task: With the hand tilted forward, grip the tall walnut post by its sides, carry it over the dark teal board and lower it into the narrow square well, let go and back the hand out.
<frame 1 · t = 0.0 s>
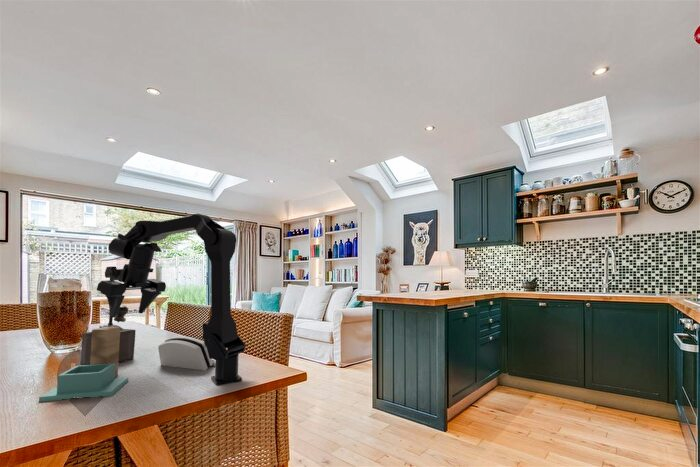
hand: (127, 315, 105), 15 cm above the table, tool pointing down, fingers open, 9 cm apart
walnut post: (103, 377, 95), on the table
grey curved block: (184, 367, 106), on the table
well: (87, 390, 85), on the table
dark brown wooden block: (113, 362, 111), on the table
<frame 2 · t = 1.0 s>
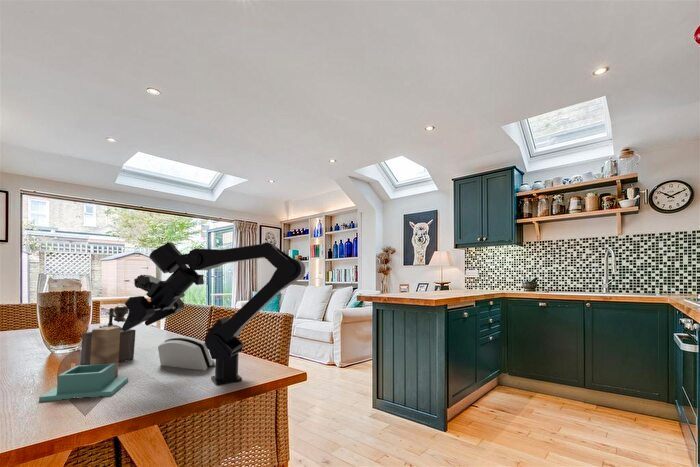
hand: (135, 327, 96), 13 cm above the table, tool tilted 45°, fingers open, 9 cm apart
nothing on the table moved.
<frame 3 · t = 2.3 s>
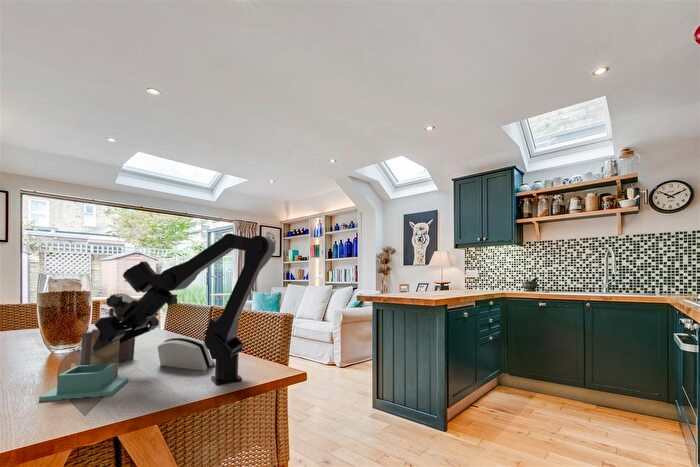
hand: (107, 345, 96), 8 cm above the table, tool tilted 45°, fingers open, 9 cm apart
nothing on the table moved.
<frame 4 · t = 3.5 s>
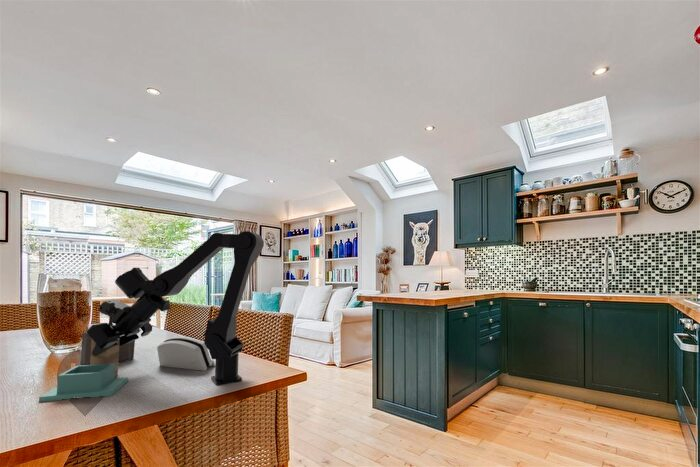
hand: (100, 352, 96), 7 cm above the table, tool tilted 45°, fingers closed on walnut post, 4 cm apart
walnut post: (103, 377, 95), on the table, touching gripper
everything else where it was.
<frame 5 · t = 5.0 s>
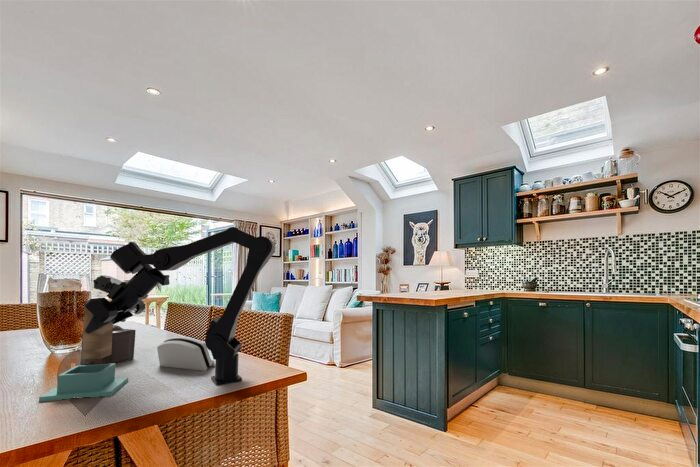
hand: (92, 330, 92), 13 cm above the table, tool tilted 45°, fingers closed on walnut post, 4 cm apart
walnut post: (97, 356, 91), point 7 cm above the table, touching gripper
everything else where it was.
when the fingers open (9 cm above the table, at t = 6.8 s): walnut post drops 1 cm, resting on well.
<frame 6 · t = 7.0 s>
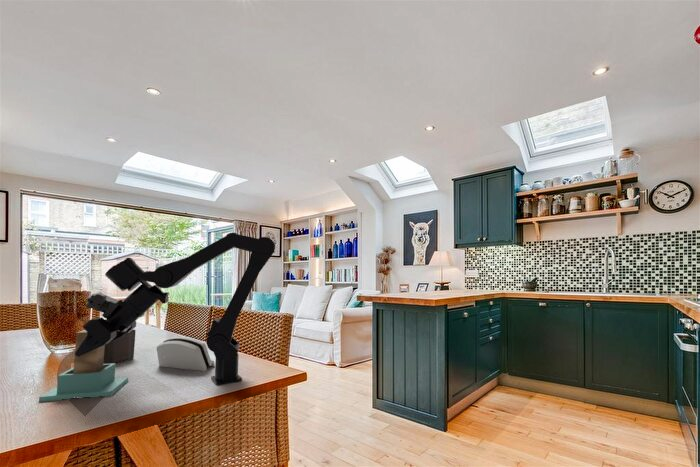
hand: (83, 352, 86), 9 cm above the table, tool tilted 45°, fingers open, 6 cm apart
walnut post: (87, 386, 86), point 1 cm above the table, touching well
everything else where it was.
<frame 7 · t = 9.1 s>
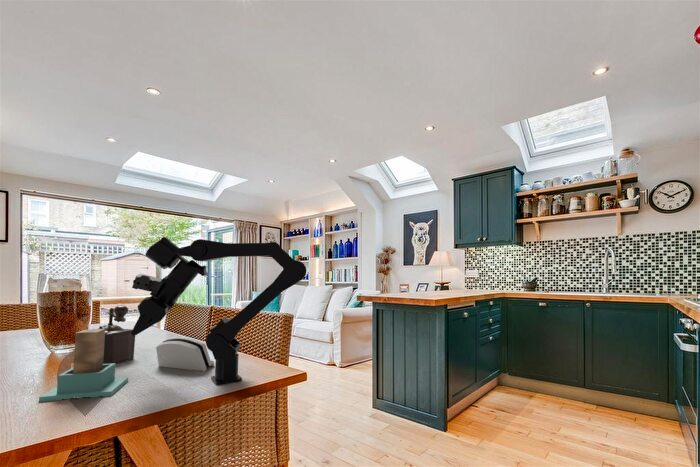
hand: (137, 329, 91), 14 cm above the table, tool tilted 35°, fingers open, 9 cm apart
nothing on the table moved.
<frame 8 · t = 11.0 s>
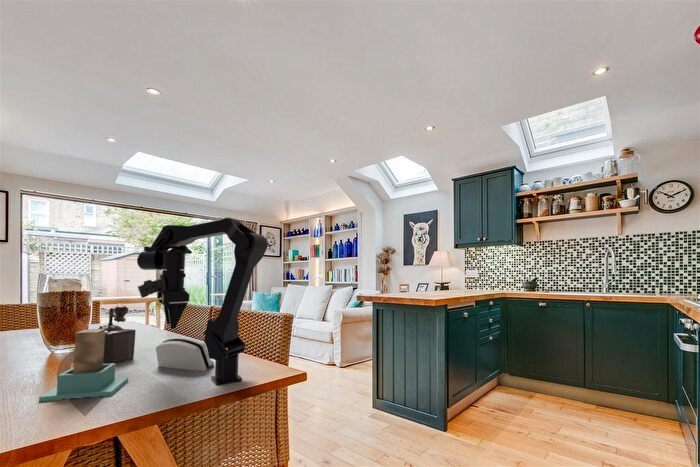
hand: (170, 326, 100), 13 cm above the table, tool pointing down, fingers open, 9 cm apart
at the end: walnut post 0.0 cm off-centre on the well, point 1.0 cm above the well's base; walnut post tilted 0°; the gripper is holding nothing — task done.
